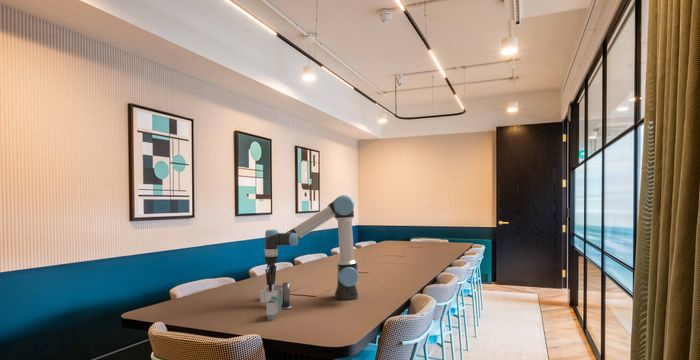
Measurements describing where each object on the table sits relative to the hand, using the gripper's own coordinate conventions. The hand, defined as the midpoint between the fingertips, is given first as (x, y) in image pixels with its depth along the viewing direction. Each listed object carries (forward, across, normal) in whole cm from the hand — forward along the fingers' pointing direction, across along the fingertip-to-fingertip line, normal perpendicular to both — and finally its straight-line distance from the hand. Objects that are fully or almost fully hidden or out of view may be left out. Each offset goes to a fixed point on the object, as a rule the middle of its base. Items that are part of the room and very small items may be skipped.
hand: (270, 295), depth 241 cm
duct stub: (+5, +27, +12) cm, 30 cm away
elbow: (+4, +6, +3) cm, 8 cm away
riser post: (+5, +6, +12) cm, 14 cm away
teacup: (+5, -12, -2) cm, 13 cm away
